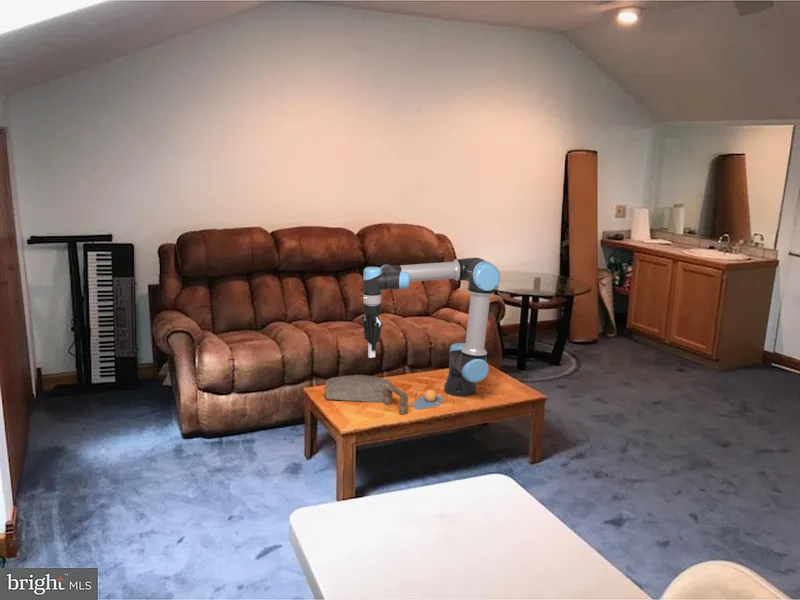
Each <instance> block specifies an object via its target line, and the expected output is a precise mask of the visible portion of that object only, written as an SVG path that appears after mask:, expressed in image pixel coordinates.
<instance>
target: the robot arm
mask: <svg viewBox="0 0 800 600" xmlns="http://www.w3.org/2000/svg"><path fill="white" fill-rule="evenodd" d="M451 279H454V280H455V281H466V282H468V286H467V292H468V293H469V294H470V297H469V298H470V299H469V300H470V301H469V307H468V317H467V327H466V335H465V341H464V342H459V343H456V342H455V343H453V344H451V345H450V348H449V360H448V361H449V365H448V376H447V378H446V381H445V384H444V385H443V386H444V388H443V391H444V393H446V394H448V395H451V396H453V397H454V396H455V397H471V396H475V394H476V393H477V385H476V384H477V383H480V382H482V381H484V379H486V378H487V377H488V375H489V371H490V367H489V364H488V362H487V358H488V352H487V350H486V349H485V346H486V345H485V344H486V334H487V327H488V320H489V319H488V318H489V310H490V301H491V297H492V296H493V295H494V294H495V289H496V287H498V285H499V284H500V281H501V274H500V271H499V269H498V268H497V266H495V264H493V263H492V262H490V261H486V260H485V259H482V258H480V257H467V258H455V259H454V260H453V261H445V262H428V263H417V264H414V263H413V264H402V265H401V264H400V265H391V264H383V265H382V266H380V267H378V266H367V267H365V268H364V269H363V277H362V281H363V286H362V287H363V288H362V289H363V291H362V292H363V295H362V296H363V297H362V299H363V300H362V302H363V304H362V305H363V306H362V312H363V314H365V315H364V316H362V317H361V321H362V325H363V335H364V340H366V342H367V351H368V352H367V355H368V356H367V358H368V359H369V358H370V359H372V358H376V349H377V345H376V344H377V343H380V336H381V331H382V327H383V322H382V321H380V317H379V314H381V311H382V305H381V303H382V290H406V289H409V287H410V283H411V282H423V281H435V280H437V281H438V280H451Z"/></svg>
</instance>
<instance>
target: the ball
mask: <svg viewBox="0 0 800 600" xmlns="http://www.w3.org/2000/svg"><path fill="white" fill-rule="evenodd" d="M436 394H437V393H436V391H435V390H434V389H427V390H426V391H425V392H424V394H423V396H424V397H425V399H426V400H427V401H428V402H432V401H436V400H435V399H436Z"/></svg>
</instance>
